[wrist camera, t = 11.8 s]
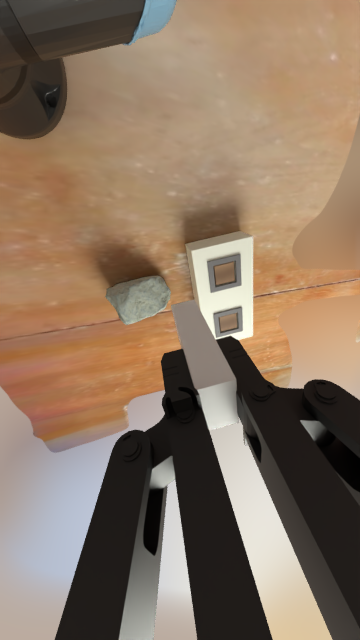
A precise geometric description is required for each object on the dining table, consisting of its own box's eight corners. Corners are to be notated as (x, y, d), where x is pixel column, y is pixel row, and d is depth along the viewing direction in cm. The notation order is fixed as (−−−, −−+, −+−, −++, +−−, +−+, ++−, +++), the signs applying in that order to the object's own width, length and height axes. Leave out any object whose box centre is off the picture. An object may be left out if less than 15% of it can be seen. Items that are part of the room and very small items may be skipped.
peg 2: (211, 305, 54) (219, 317, 49) (227, 301, 54) (236, 313, 49) (213, 318, 56) (220, 331, 51) (228, 314, 56) (237, 327, 51)
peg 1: (206, 258, 47) (214, 266, 42) (223, 254, 48) (233, 261, 43) (208, 275, 50) (216, 285, 45) (224, 271, 50) (234, 280, 45)
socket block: (185, 243, 45) (191, 251, 40) (240, 230, 46) (254, 236, 40) (200, 334, 58) (206, 349, 53) (242, 323, 59) (253, 337, 53)
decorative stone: (103, 310, 50) (126, 340, 46) (94, 273, 41) (121, 306, 37) (150, 288, 56) (174, 313, 52) (150, 252, 47) (179, 279, 43)
